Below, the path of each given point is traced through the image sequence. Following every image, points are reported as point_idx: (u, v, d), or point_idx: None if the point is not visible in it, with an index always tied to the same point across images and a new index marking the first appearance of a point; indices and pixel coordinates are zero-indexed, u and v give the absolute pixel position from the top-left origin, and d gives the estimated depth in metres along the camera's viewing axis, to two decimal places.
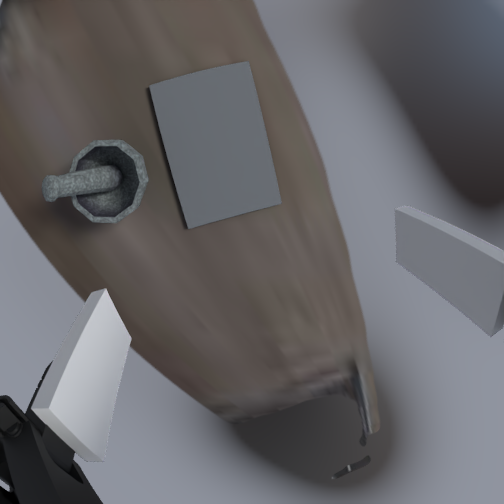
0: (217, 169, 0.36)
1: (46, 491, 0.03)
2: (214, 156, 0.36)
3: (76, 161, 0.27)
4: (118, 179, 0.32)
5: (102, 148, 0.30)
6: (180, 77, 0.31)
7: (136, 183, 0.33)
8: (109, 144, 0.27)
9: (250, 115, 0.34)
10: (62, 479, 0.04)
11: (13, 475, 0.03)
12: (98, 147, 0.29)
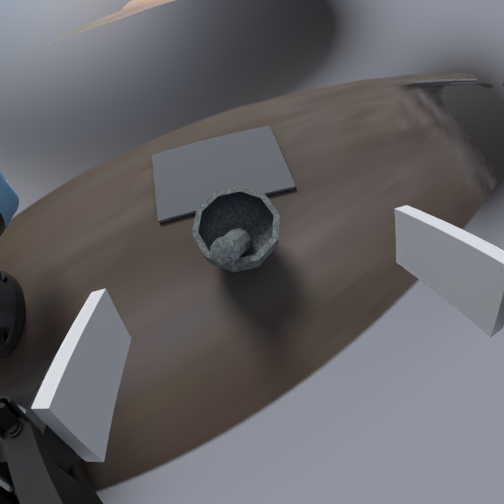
0: (240, 165, 0.43)
1: (46, 491, 0.03)
2: (229, 168, 0.43)
3: (209, 253, 0.31)
4: (239, 228, 0.35)
5: (205, 242, 0.34)
6: (157, 197, 0.41)
7: (247, 217, 0.37)
8: (199, 218, 0.32)
9: (196, 148, 0.44)
10: (62, 479, 0.04)
11: (13, 475, 0.03)
12: (202, 239, 0.33)
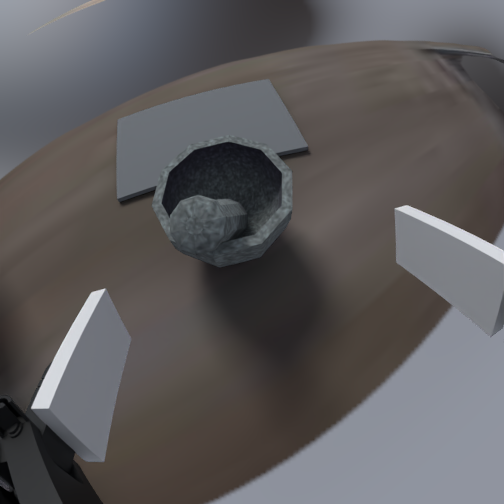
0: (231, 123, 0.30)
1: (46, 491, 0.03)
2: (215, 126, 0.30)
3: None
4: (229, 199, 0.22)
5: None
6: (118, 168, 0.28)
7: (240, 185, 0.24)
8: (164, 182, 0.20)
9: (173, 107, 0.32)
10: (62, 479, 0.04)
11: (13, 475, 0.03)
12: (169, 215, 0.20)
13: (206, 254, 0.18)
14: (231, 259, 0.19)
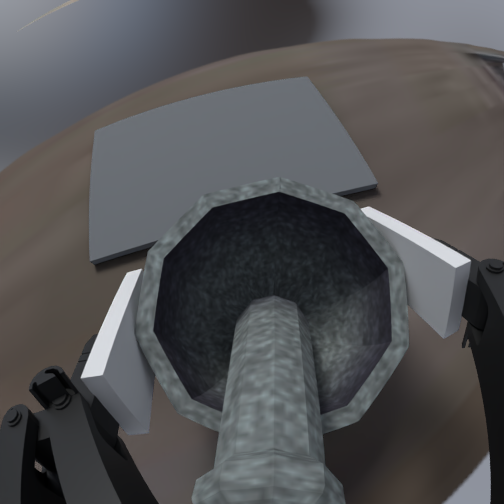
0: (261, 139, 0.20)
1: (93, 468, 0.04)
2: (238, 144, 0.20)
3: (195, 407, 0.08)
4: (276, 297, 0.13)
5: (183, 340, 0.12)
6: (91, 208, 0.19)
7: (289, 260, 0.14)
8: (155, 281, 0.10)
9: (172, 112, 0.22)
10: (109, 455, 0.05)
11: (54, 449, 0.04)
12: (170, 340, 0.11)
13: None
14: None
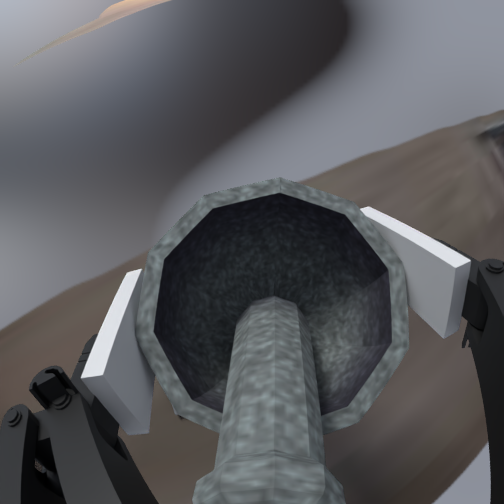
0: None
1: (93, 468, 0.04)
2: None
3: (195, 408, 0.08)
4: (277, 298, 0.13)
5: (183, 341, 0.12)
6: None
7: (290, 261, 0.14)
8: (155, 282, 0.10)
9: None
10: (109, 455, 0.05)
11: (54, 449, 0.04)
12: (171, 341, 0.11)
13: None
14: None
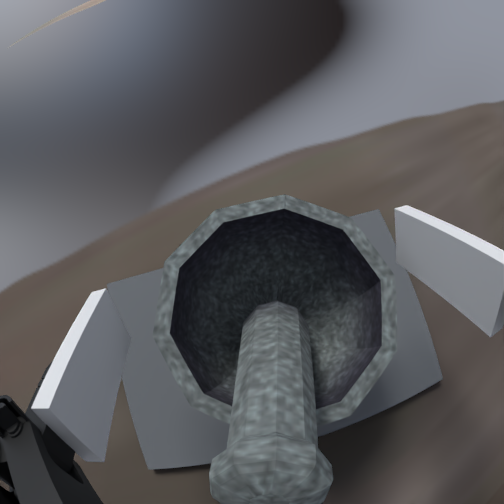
0: None
1: (47, 490, 0.03)
2: None
3: (206, 401, 0.10)
4: (280, 303, 0.14)
5: (194, 341, 0.13)
6: (133, 412, 0.15)
7: (292, 269, 0.15)
8: (171, 289, 0.11)
9: None
10: (62, 479, 0.04)
11: (13, 475, 0.03)
12: (184, 341, 0.12)
13: None
14: None
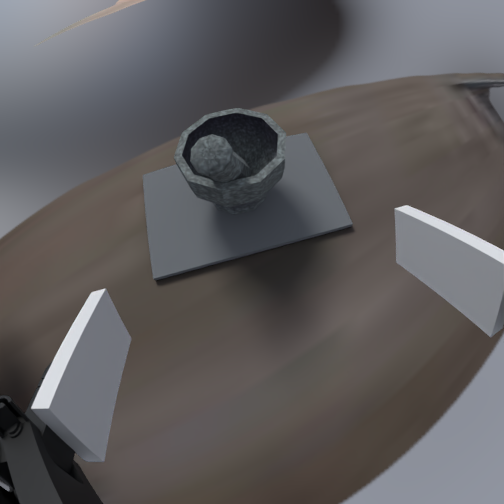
0: (271, 191, 0.30)
1: (46, 491, 0.03)
2: None
3: (194, 177, 0.23)
4: None
5: None
6: (150, 240, 0.28)
7: (245, 149, 0.28)
8: (184, 141, 0.24)
9: None
10: (62, 479, 0.04)
11: (13, 475, 0.03)
12: None
13: (216, 190, 0.22)
14: (236, 197, 0.23)
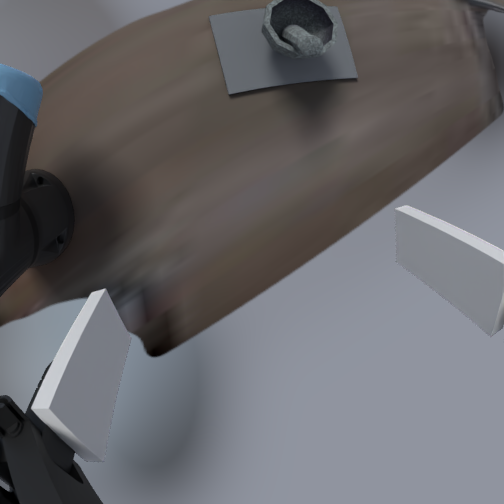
0: None
1: (46, 491, 0.03)
2: None
3: (280, 42, 0.28)
4: None
5: None
6: (224, 67, 0.34)
7: (300, 17, 0.30)
8: (270, 12, 0.26)
9: (262, 16, 0.31)
10: (62, 479, 0.04)
11: (13, 475, 0.03)
12: None
13: (295, 53, 0.29)
14: (303, 57, 0.30)
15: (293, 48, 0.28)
